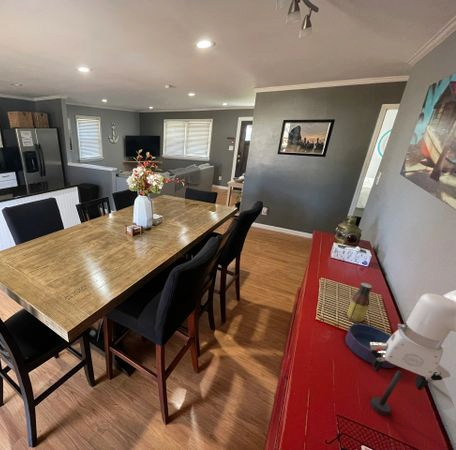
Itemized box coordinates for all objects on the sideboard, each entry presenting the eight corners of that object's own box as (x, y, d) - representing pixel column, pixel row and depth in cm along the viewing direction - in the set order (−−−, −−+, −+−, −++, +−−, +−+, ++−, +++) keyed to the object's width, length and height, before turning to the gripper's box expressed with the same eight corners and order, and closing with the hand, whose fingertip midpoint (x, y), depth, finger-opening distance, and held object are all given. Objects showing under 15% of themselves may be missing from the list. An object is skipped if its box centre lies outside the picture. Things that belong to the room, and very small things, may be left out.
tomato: (386, 356, 97) (389, 351, 96) (380, 357, 96) (383, 352, 95) (378, 350, 99) (381, 345, 98) (372, 351, 99) (375, 346, 98)
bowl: (408, 365, 94) (415, 354, 92) (374, 372, 91) (380, 361, 88) (365, 331, 109) (370, 321, 107) (335, 336, 106) (339, 326, 104)
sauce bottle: (364, 322, 115) (380, 288, 107) (356, 325, 113) (371, 291, 105) (350, 313, 120) (364, 280, 113) (342, 316, 118) (355, 282, 111)
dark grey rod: (392, 414, 77) (415, 377, 71) (380, 416, 76) (403, 380, 70) (377, 399, 81) (397, 363, 75) (366, 401, 81) (386, 366, 74)
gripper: (383, 329, 68) (361, 370, 75) (474, 361, 60) (440, 404, 66) (379, 314, 74) (359, 353, 81) (460, 341, 66) (430, 382, 72)
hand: (395, 376), depth 74 cm, fingers open, 9 cm apart
